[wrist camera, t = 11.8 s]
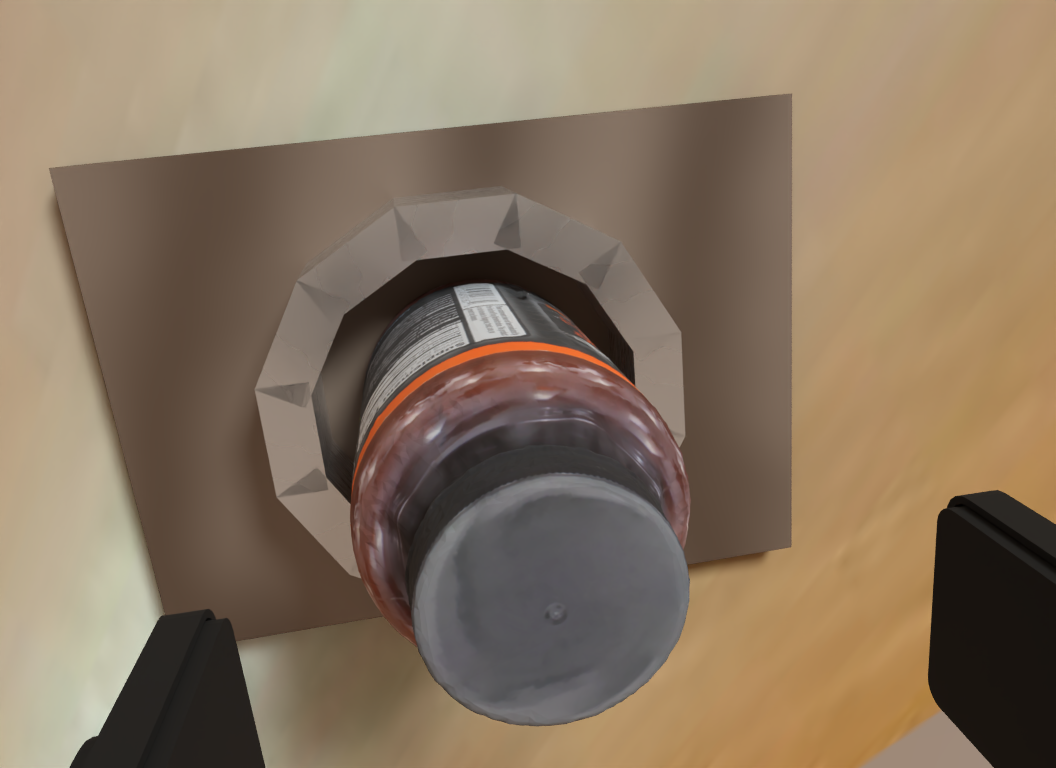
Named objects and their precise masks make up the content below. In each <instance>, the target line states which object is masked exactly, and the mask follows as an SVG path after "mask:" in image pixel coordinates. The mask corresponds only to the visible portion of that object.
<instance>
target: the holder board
mask: <svg viewBox="0 0 1056 768" xmlns="http://www.w3.org/2000/svg"><path fill="white" fill-rule="evenodd" d="M49 170H50V174H51V178H52V182H53V186H54V189H55V193H56V197H57V201H58V205H59V209H60V212H61V216H62V220H63V224H64V228H65V232H66V235H67V239H68V243H69V247H70V251H71V255H72V258H73V262H74V266H75V270H76V274H77V278H78V281H79V285H80V289H81V293H82V297H83V301H84V304H85V308H86V312H87V316H88V320H89V324H90V327H91V331H92V335H93V339H94V343H95V347H96V350H97V354H98V358H99V362H100V366H101V370H102V373H103V377H104V381H105V385H106V389H107V393H108V396H109V400H110V404H111V408H112V412H113V416H114V419H115V423H116V427H117V431H118V435H119V439H120V442H121V446H122V450H123V454H124V458H125V462H126V465H127V469H128V473H129V477H130V481H131V485H132V488H133V492H134V496H135V500H136V504H137V508H138V511H139V515H140V519H141V523H142V527H143V531H144V534H145V538H146V542H147V546H148V550H149V554H150V557H151V561H152V565H153V569H154V573H155V577H156V580H157V584H158V588H159V592H160V596H161V600H162V603H163V607H164V611H165V615H171V614H177V613H184V612H191V611H197V610H204V609H210V610H211V611H212V612H213V613H214V615H215V617H216V619H223V618H228V619H229V620H230V622H231V624H232V628H233V631H234V636H235V640H236V641H240V640H246V639H252V638H258V637H263V636H269V635H275V634H281V633H287V632H293V631H299V630H305V629H311V628H317V627H323V626H328V625H334V624H340V623H346V622H352V621H358V620H364V619H370V618H376V617H382V616H383V615H382V613H381V612H380V610H379V609H378V608H377V606H376V605H375V603H374V601H373V600H372V598H371V596H370V595H369V593H368V591H367V589H366V587H365V585H364V583H363V581H362V579H361V578H358V577H355V576H352V575H349V573H348V572H347V571H346V570H345V569H344V568H343V567H342V566H341V565H340V564H339V563H338V562H337V561H336V560H335V559H334V558H333V556H332V555H331V554H330V553H329V552H328V551H327V550H326V549H325V548H324V547H323V546H322V545H321V544H320V543H319V542H318V541H317V540H316V538H315V537H314V536H313V535H312V534H311V533H310V532H309V531H308V530H307V529H306V528H305V527H304V526H303V525H302V524H301V523H300V522H299V521H298V519H297V518H296V517H295V516H294V515H293V514H292V513H291V512H290V511H289V510H288V509H287V508H286V507H285V506H284V505H283V504H282V503H281V501H280V500H279V499H278V498H277V497H276V492H275V487H274V482H273V477H272V472H271V467H270V462H269V457H268V453H267V448H266V443H265V438H264V433H263V428H262V423H261V418H260V413H259V409H258V404H257V399H256V394H255V387H256V385H257V382H258V379H259V377H260V374H261V372H262V369H263V367H264V364H265V361H266V359H267V356H268V354H269V351H270V348H271V346H272V343H273V341H274V338H275V336H276V333H277V330H278V328H279V325H280V323H281V320H282V317H283V315H284V312H285V310H286V307H287V305H288V302H289V299H290V297H291V294H292V292H293V289H294V286H295V284H296V281H297V279H298V278H299V276H300V274H301V273H302V271H303V269H304V268H305V266H306V264H307V263H308V262H310V261H311V260H312V259H314V258H315V257H316V256H318V255H319V254H320V253H322V252H323V251H324V250H326V249H327V248H328V247H330V246H331V245H332V244H334V243H335V242H336V241H338V240H339V239H340V238H342V237H343V236H344V235H345V234H347V233H348V232H349V231H351V230H352V229H353V228H355V227H356V226H357V225H359V224H360V223H361V222H363V221H364V220H365V219H367V218H368V217H369V216H371V215H372V214H373V213H375V212H376V211H377V210H379V209H380V208H381V207H382V206H384V205H385V204H386V203H388V202H389V201H390V200H392V199H393V198H399V197H408V196H417V195H426V194H435V193H444V192H453V191H463V190H472V189H481V188H490V187H499V186H502V187H504V188H506V189H509V190H511V191H513V192H515V193H517V194H519V195H522V196H524V197H526V198H528V199H530V200H533V201H535V202H537V203H539V204H541V205H543V206H546V207H548V208H550V209H552V210H554V211H556V212H559V213H561V214H563V215H565V216H567V217H570V218H572V219H574V220H576V221H578V222H580V223H583V224H585V225H587V226H589V227H591V228H594V229H596V230H598V231H600V232H602V233H604V234H606V235H608V236H610V237H613V238H615V239H617V240H619V241H621V243H622V244H623V246H624V247H625V249H626V250H627V252H628V253H629V255H630V256H631V258H632V259H633V261H634V262H635V264H636V265H637V267H638V268H639V270H640V271H641V273H642V274H643V276H644V277H645V279H646V280H647V282H648V283H649V285H650V286H651V288H652V289H653V291H654V292H655V294H656V295H657V297H658V298H659V300H660V301H661V303H662V304H663V306H664V307H665V309H666V310H667V312H668V313H669V315H670V316H671V318H672V319H673V321H674V322H675V324H676V325H677V327H678V328H679V330H680V331H681V340H682V365H683V390H684V415H685V438H684V440H683V442H682V444H681V446H680V450H681V452H682V454H683V463H684V465H685V467H686V472H687V475H688V483H689V490H690V498H691V503H690V518H689V523H688V531H687V538H686V543H685V546H684V549H683V551H684V555H685V559H686V561H687V565H689V564H694V563H700V562H706V561H712V560H718V559H724V558H730V557H736V556H742V555H748V554H753V553H759V552H765V551H771V550H777V549H783V548H789V547H791V455H792V94H783V95H772V96H762V97H752V98H742V99H732V100H722V101H712V102H702V103H692V104H682V105H672V106H662V107H652V108H642V109H632V110H623V111H613V112H603V113H593V114H583V115H573V116H563V117H553V118H543V119H533V120H523V121H513V122H503V123H493V124H483V125H473V126H463V127H453V128H443V129H433V130H423V131H413V132H403V133H393V134H383V135H373V136H363V137H353V138H343V139H333V140H324V141H314V142H304V143H294V144H284V145H274V146H264V147H254V148H244V149H234V150H224V151H214V152H204V153H194V154H184V155H174V156H164V157H154V158H144V159H134V160H124V161H114V162H104V163H94V164H84V165H74V166H64V167H56V168H49ZM477 279H487V280H499V281H503V282H509V283H513V284H516V285H518V286H521V287H523V288H525V289H527V290H530V291H532V292H534V293H536V294H538V295H539V296H541V297H543V298H544V299H546V300H547V301H549V302H550V303H552V304H553V305H554V306H555V307H556V308H557V309H559V310H561V311H562V312H563V313H564V314H565V315H566V316H567V317H568V318H569V319H570V320H571V321H573V323H574V324H575V325H576V326H577V328H579V329H580V330H581V331H582V333H584V334H585V336H586V337H587V338H588V339H589V340H590V341H591V342H592V343H593V344H594V345H595V346H596V347H597V348H598V349H599V350H600V352H602V353H603V354H604V355H605V356H606V357H608V358H609V359H610V354H609V339H608V328H607V326H606V325H605V323H604V322H603V321H602V319H601V318H600V316H599V315H598V314H597V312H596V311H595V309H594V308H593V306H592V305H591V304H590V302H589V301H588V299H587V298H586V296H585V295H584V294H583V292H582V291H581V289H580V288H579V286H578V285H577V284H576V282H575V281H574V279H573V278H571V277H569V276H567V275H564V274H562V273H560V272H557V271H555V270H553V269H551V268H548V267H546V266H544V265H541V264H539V263H537V262H535V261H532V260H530V259H528V258H525V257H523V256H521V255H519V254H516V253H514V252H512V251H510V250H507V249H506V250H497V251H489V252H481V253H472V254H464V255H455V256H447V257H438V258H430V259H422V260H416V261H415V262H413V263H412V264H411V265H409V266H408V267H407V268H405V269H404V270H403V271H401V272H400V273H399V274H397V275H396V276H395V277H393V278H392V279H391V280H389V281H388V282H387V283H385V284H384V285H383V286H381V287H380V288H379V289H377V290H376V291H375V292H373V293H372V294H371V295H369V296H368V297H367V298H365V299H364V300H363V301H361V302H360V303H359V304H357V305H356V306H355V307H353V308H352V309H351V310H349V311H348V312H347V313H345V314H344V315H343V318H342V320H341V323H340V325H339V328H338V330H337V333H336V335H335V338H334V340H333V343H332V345H331V347H330V350H329V352H328V355H327V357H326V360H325V362H324V365H323V367H322V370H321V377H322V382H323V388H324V393H325V399H326V405H327V410H328V416H329V422H330V427H331V433H332V438H333V441H334V442H335V443H336V444H337V445H338V446H339V448H340V449H341V450H342V451H343V452H344V453H345V454H346V456H347V457H348V458H349V459H350V460H351V461H352V462H353V463H354V460H355V454H356V444H357V436H358V429H359V422H360V412H361V404H362V397H363V387H364V381H365V376H366V371H367V368H368V363H369V360H370V356H371V354H372V353H373V351H374V349H375V346H376V344H377V342H378V340H379V339H380V337H381V335H382V333H383V331H384V330H385V328H386V327H387V326H388V324H389V323H390V322H391V320H392V319H393V318H394V317H395V316H396V315H397V314H398V313H399V312H400V311H401V310H402V309H403V308H404V307H406V306H407V305H408V304H409V303H411V302H412V301H413V300H415V299H416V298H418V297H419V296H421V295H422V294H424V293H426V292H428V291H430V290H432V289H435V288H437V287H439V286H442V285H446V284H448V283H453V282H459V281H463V280H477Z"/></svg>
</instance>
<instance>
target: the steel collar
mask: <svg viewBox="0 0 1056 768" xmlns="http://www.w3.org/2000/svg"><path fill="white" fill-rule="evenodd" d="M506 249H507V250H510V251H512V252H514V253H516V254H519V255H521V256H523V257H525V258H528V259H530V260H532V261H535V262H537V263H539V264H541V265H544V266H546V267H548V268H551V269H553V270H555V271H557V272H560V273H562V274H564V275H567V276H569V277H571V278H573V279H574V281H575V282H576V284H577V285H578V286H579V288H580V289H581V291H582V292H583V294H584V295H585V296H586V298H587V299H588V301H589V302H590V304H591V305H592V306H593V308H594V309H595V311H596V312H597V314H598V315H599V316H600V318H601V319H602V321H603V322H604V323H605V325H606V326H607V328H608V339H609V354H610V360H611V362H612V363H613V364H614V365H615V366H616V367H617V368H618V369H619V370H620V371H621V372H622V373H623V374H624V375H625V376H626V377H627V378H628V379H629V380H630V381H631V382H632V384H633V385H634V386H635V387H636V388H637V389H638V390H639V391H640V392H641V393H642V394H643V395H644V396H645V397H646V398H647V400H648V401H649V402H650V403H651V404H652V405H653V406H654V407H655V408H656V409H657V411H658V412H659V414H660V415H661V417H662V418H663V420H664V421H665V422H666V423H667V425H668V427H669V429H670V431H671V433H672V435H673V437H674V439H675V441H676V442H677V444H678V446H679V448H680V446H681V444H682V442H683V440H684V438H685V415H684V390H683V365H682V340H681V331H680V330H679V328H678V327H677V325H676V324H675V322H674V321H673V319H672V318H671V316H670V315H669V313H668V312H667V310H666V309H665V307H664V306H663V304H662V303H661V301H660V300H659V298H658V297H657V295H656V294H655V292H654V291H653V289H652V288H651V286H650V285H649V283H648V282H647V280H646V279H645V277H644V276H643V274H642V273H641V271H640V270H639V268H638V267H637V265H636V264H635V262H634V261H633V259H632V258H631V256H630V255H629V253H628V252H627V250H626V249H625V247H624V246H623V244H622V243H621V241H619V240H617V239H615V238H613V237H610V236H608V235H606V234H604V233H602V232H600V231H598V230H596V229H594V228H591V227H589V226H587V225H585V224H583V223H580V222H578V221H576V220H574V219H572V218H570V217H567V216H565V215H563V214H561V213H559V212H556V211H554V210H552V209H550V208H548V207H546V206H543V205H541V204H539V203H537V202H535V201H533V200H530V199H528V198H526V197H524V196H522V195H519V194H517V193H515V192H513V191H511V190H509V189H506V188H504V187H502V186H499V187H490V188H481V189H472V190H463V191H453V192H444V193H435V194H426V195H417V196H408V197H399V198H393V199H392V200H390V201H389V202H388V203H386V204H385V205H384V206H382V207H381V208H380V209H379V210H377V211H376V212H375V213H373V214H372V215H371V216H369V217H368V218H367V219H365V220H364V221H363V222H361V223H360V224H359V225H357V226H356V227H355V228H353V229H352V230H351V231H349V232H348V233H347V234H345V235H344V236H343V237H342V238H340V239H339V240H338V241H336V242H335V243H334V244H332V245H331V246H330V247H328V248H327V249H326V250H324V251H323V252H322V253H320V254H319V255H318V256H316V257H315V258H314V259H312V260H311V261H310V262H308V263H307V264H306V266H305V268H304V269H303V271H302V273H301V274H300V276H299V278H298V279H297V281H296V284H295V286H294V289H293V292H292V294H291V297H290V299H289V302H288V305H287V307H286V310H285V312H284V315H283V317H282V320H281V323H280V325H279V328H278V330H277V333H276V336H275V338H274V341H273V343H272V346H271V348H270V351H269V354H268V356H267V359H266V361H265V364H264V367H263V369H262V372H261V374H260V377H259V379H258V382H257V385H256V387H255V394H256V399H257V404H258V409H259V413H260V418H261V423H262V428H263V433H264V438H265V443H266V448H267V453H268V457H269V462H270V467H271V472H272V477H273V482H274V487H275V492H276V497H277V498H278V499H279V500H280V501H281V503H282V504H283V505H284V506H285V507H286V508H287V509H288V510H289V511H290V512H291V513H292V514H293V515H294V516H295V517H296V518H297V519H298V521H299V522H300V523H301V524H302V525H303V526H304V527H305V528H306V529H307V530H308V531H309V532H310V533H311V534H312V535H313V536H314V537H315V538H316V540H317V541H318V542H319V543H320V544H321V545H322V546H323V547H324V548H325V549H326V550H327V551H328V552H329V553H330V554H331V555H332V556H333V558H334V559H335V560H336V561H337V562H338V563H339V564H340V565H341V566H342V567H343V568H344V569H345V570H346V571H347V572H348V573H349V575H352V576H355V577H358V578H361V576H360V573H359V571H358V567H357V563H356V559H355V555H354V551H353V545H352V537H351V526H350V505H351V495H352V476H353V471H354V463H353V462H352V461H351V460H350V459H349V458H348V457H347V456H346V454H345V453H344V452H343V451H342V450H341V449H340V448H339V446H338V445H337V444H336V443H335V442H334V441H333V438H332V433H331V427H330V422H329V416H328V410H327V405H326V399H325V393H324V388H323V382H322V377H321V370H322V367H323V365H324V362H325V360H326V357H327V355H328V352H329V350H330V347H331V345H332V343H333V340H334V338H335V335H336V333H337V330H338V328H339V325H340V323H341V320H342V318H343V315H344V314H345V313H347V312H348V311H349V310H351V309H352V308H353V307H355V306H356V305H357V304H359V303H360V302H361V301H363V300H364V299H365V298H367V297H368V296H369V295H371V294H372V293H373V292H375V291H376V290H377V289H379V288H380V287H381V286H383V285H384V284H385V283H387V282H388V281H389V280H391V279H392V278H393V277H395V276H396V275H397V274H399V273H400V272H401V271H403V270H404V269H405V268H407V267H408V266H409V265H411V264H412V263H413V262H415V261H416V260H422V259H430V258H438V257H447V256H455V255H464V254H472V253H481V252H489V251H497V250H506Z"/></svg>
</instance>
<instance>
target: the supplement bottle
mask: <svg viewBox="0 0 1056 768" xmlns="http://www.w3.org/2000/svg"><path fill="white" fill-rule="evenodd" d="M690 503H691V498H690V490H689V483H688V475H687V472H686V467H685V465H684V463H683V454H682V452H681V450H680V448H679V446H678V444H677V442H676V441H675V439H674V437H673V435H672V433H671V431H670V429H669V427H668V425H667V423H666V422H665V421H664V420H663V418H662V417H661V415H660V414H659V412H658V411H657V409H656V408H655V407H654V406H653V405H652V404H651V403H650V402H649V401H648V400H647V398H646V397H645V396H644V395H643V394H642V393H641V392H640V391H639V390H638V389H637V388H636V387H635V386H634V385H633V384H632V382H631V381H630V380H629V379H628V378H627V377H626V376H625V375H624V374H623V373H622V372H621V371H620V370H619V369H618V368H617V367H616V366H615V365H614V364H613V363H612V362H611V360H610V359H609V358H608V357H606V356H605V355H604V354H603V353H602V352H600V350H599V349H598V348H597V347H596V346H595V345H594V344H593V343H592V342H591V341H590V340H589V339H588V338H587V337H586V336H585V334H584V333H582V331H581V330H580V329H579V328H577V326H576V325H575V324H574V323H573V321H571V320H570V319H569V318H568V317H567V316H566V315H565V314H564V313H563V312H562V311H561V310H559V309H557V308H556V307H555V306H554V305H553V304H552V303H550V302H549V301H547V300H546V299H544V298H543V297H541V296H539V295H538V294H536V293H534V292H532V291H530V290H527V289H525V288H523V287H521V286H518V285H516V284H513V283H509V282H503V281H499V280H487V279H477V280H463V281H459V282H453V283H448V284H446V285H442V286H439V287H437V288H435V289H432V290H430V291H428V292H426V293H424V294H422V295H421V296H419V297H418V298H416V299H415V300H413V301H412V302H411V303H409V304H408V305H407V306H406V307H404V308H403V309H402V310H401V311H400V312H399V313H398V314H397V315H396V316H395V317H394V318H393V319H392V320H391V322H390V323H389V324H388V326H387V327H386V328H385V330H384V331H383V333H382V335H381V337H380V339H379V340H378V342H377V344H376V346H375V349H374V351H373V353H372V354H371V356H370V360H369V363H368V368H367V371H366V376H365V381H364V387H363V397H362V404H361V412H360V422H359V429H358V436H357V444H356V454H355V460H354V471H353V476H352V495H351V505H350V526H351V537H352V545H353V551H354V555H355V559H356V563H357V567H358V571H359V573H360V576H361V579H362V581H363V583H364V585H365V587H366V589H367V591H368V593H369V595H370V596H371V598H372V600H373V601H374V603H375V605H376V606H377V608H378V609H379V610H380V612H381V613H382V615H383V616H384V617H385V618H386V619H387V620H388V622H389V623H390V624H391V625H392V626H393V627H394V628H395V629H396V630H397V631H398V632H399V633H400V634H401V635H402V636H403V637H405V638H406V639H407V640H409V641H410V642H411V643H413V644H414V645H415V646H416V647H418V650H419V653H420V655H421V657H422V659H423V660H424V662H425V664H426V666H427V669H428V671H429V672H430V674H431V675H432V677H433V678H434V680H435V681H436V682H437V683H438V684H439V685H440V686H442V687H443V689H444V690H445V691H446V692H447V693H448V694H449V695H450V696H451V697H453V698H454V699H455V700H456V701H458V702H459V703H460V704H462V705H463V706H464V707H466V708H467V709H469V710H471V711H473V712H475V713H477V714H481V715H484V716H486V717H489V718H491V719H493V720H498V721H502V722H505V723H508V724H515V725H528V726H552V725H560V724H567V723H571V722H574V721H578V720H582V719H585V718H589V717H592V716H596V715H598V714H600V713H602V712H604V711H605V710H606V709H609V708H611V707H613V706H615V705H616V704H618V703H620V702H622V701H623V700H625V699H626V698H627V697H628V696H630V695H632V694H634V693H635V692H636V691H637V690H638V689H639V688H640V687H641V686H643V685H644V684H646V683H647V682H648V681H649V680H650V679H651V678H652V676H653V675H654V674H655V673H656V672H657V671H658V670H659V668H660V667H661V666H662V665H663V664H664V663H665V661H666V660H667V658H668V656H669V654H670V652H671V651H672V650H673V648H674V647H675V645H676V643H677V642H678V640H679V638H680V635H681V632H682V629H683V626H684V623H685V619H686V614H687V609H688V604H689V583H690V579H689V575H688V567H687V561H686V559H685V555H684V551H683V549H684V546H685V543H686V538H687V531H688V523H689V518H690Z"/></svg>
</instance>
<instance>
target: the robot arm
mask: <svg viewBox="0 0 1056 768" xmlns="http://www.w3.org/2000/svg"><path fill="white" fill-rule="evenodd" d="M928 682H929V687H930V691H931V693H932V696H933V698H934V700H935V702H936V703H937V705H938V706H939V707H940V709H941V710H942V711H943V712H944V713H945V714H946V715H947V716H948V717H949V719H950V720H951V721H952V722H953V723H954V724H955V725H956V726H957V727H958V728H959V730H960V731H961V732H962V733H963V734H964V735H965V736H966V737H967V738H968V739H969V741H971V743H972V744H973V745H974V746H975V747H976V748H977V749H978V751H979V752H980V753H981V754H982V755H983V756H984V757H985V758H986V759H987V760H988V761H989V763H990V764H991V765H992V766H993V767H994V768H1056V524H1054V523H1052V522H1051V521H1049V520H1048V519H1046V518H1044V517H1043V516H1041V515H1040V514H1038V513H1036V512H1035V511H1033V510H1031V509H1030V508H1028V507H1027V506H1025V505H1023V504H1022V503H1020V502H1019V501H1017V500H1015V499H1014V498H1012V497H1010V496H1009V495H1007V494H1006V493H1004V492H1001V491H999V490H995V491H987V492H980V493H974V494H967V495H961V496H955V497H954V498H952V499H951V500H950V502H949V504H948V506H947V509H943V510H942V511H941V512H940V513H939V515H938V520H937V534H936V551H935V568H934V585H933V602H932V618H931V635H930V652H929V669H928ZM70 768H265V764H264V760H263V755H262V751H261V747H260V743H259V738H258V734H257V730H256V725H255V721H254V717H253V713H252V708H251V704H250V700H249V695H248V691H247V687H246V683H245V678H244V674H243V670H242V666H241V661H240V657H239V653H238V648H237V644H236V640H235V636H234V631H233V628H232V624H231V622H230V620H229V619H228V618H223V619H216V617H215V615H214V613H213V612H212V611H211V610H210V609H204V610H197V611H191V612H184V613H177V614H171V615H164V616H161V617H160V619H159V620H158V621H157V623H156V625H155V627H154V629H153V631H152V633H151V635H150V637H149V639H148V641H147V643H146V644H145V646H144V648H143V650H142V652H141V654H140V656H139V658H138V660H137V662H136V664H135V666H134V668H133V670H132V672H131V673H130V675H129V677H128V679H127V681H126V683H125V685H124V687H123V689H122V691H121V693H120V695H119V697H118V699H117V700H116V702H115V704H114V706H113V708H112V710H111V712H110V714H109V716H108V718H107V720H106V722H105V724H104V726H103V728H102V729H101V731H100V733H99V735H98V736H96V737H92V738H90V739H89V740H87V741H85V743H84V744H83V745H82V747H81V748H80V750H79V751H78V753H77V755H76V756H75V758H74V760H73V762H72V764H71V766H70Z"/></svg>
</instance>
